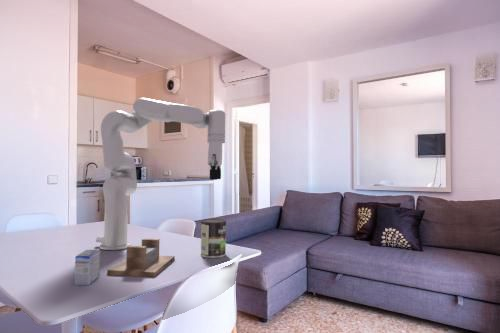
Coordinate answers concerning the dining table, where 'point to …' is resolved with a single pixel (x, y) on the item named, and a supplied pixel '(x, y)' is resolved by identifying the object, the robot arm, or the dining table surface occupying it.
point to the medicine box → (87, 267)
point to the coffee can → (213, 238)
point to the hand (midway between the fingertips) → (215, 179)
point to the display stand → (142, 260)
